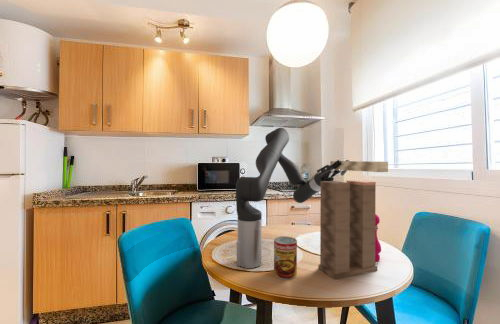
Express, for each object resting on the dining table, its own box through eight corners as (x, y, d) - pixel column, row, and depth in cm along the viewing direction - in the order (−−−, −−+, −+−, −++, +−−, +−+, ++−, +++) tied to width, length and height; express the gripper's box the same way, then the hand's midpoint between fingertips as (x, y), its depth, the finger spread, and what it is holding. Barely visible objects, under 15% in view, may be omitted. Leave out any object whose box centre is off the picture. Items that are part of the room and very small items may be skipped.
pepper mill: (383, 262, 96) (384, 211, 96) (363, 261, 97) (364, 210, 97) (378, 255, 103) (378, 207, 103) (359, 254, 104) (359, 207, 104)
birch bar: (330, 169, 104) (330, 161, 104) (337, 169, 106) (338, 161, 106) (379, 172, 82) (379, 161, 82) (387, 171, 83) (388, 161, 83)
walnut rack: (318, 268, 91) (318, 181, 90) (358, 260, 98) (358, 180, 97) (335, 279, 82) (335, 183, 82) (377, 270, 89) (377, 181, 89)
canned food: (273, 278, 83) (273, 242, 83) (274, 268, 91) (274, 235, 91) (297, 280, 82) (297, 244, 82) (296, 269, 90) (296, 236, 89)
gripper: (305, 173, 112) (327, 153, 98) (330, 172, 118) (354, 154, 104) (310, 188, 109) (333, 170, 95) (335, 187, 114) (361, 169, 100)
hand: (344, 162), depth 99 cm, fingers closed on birch bar, 4 cm apart
